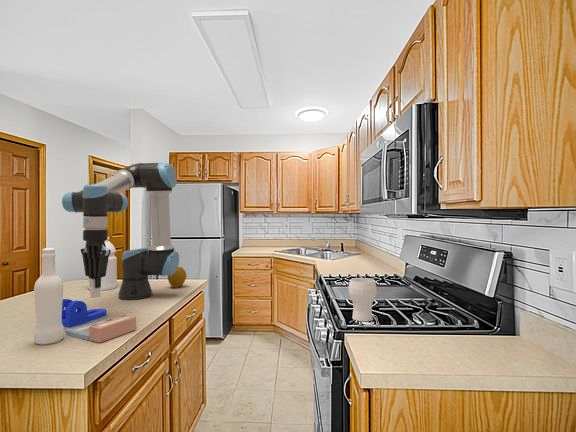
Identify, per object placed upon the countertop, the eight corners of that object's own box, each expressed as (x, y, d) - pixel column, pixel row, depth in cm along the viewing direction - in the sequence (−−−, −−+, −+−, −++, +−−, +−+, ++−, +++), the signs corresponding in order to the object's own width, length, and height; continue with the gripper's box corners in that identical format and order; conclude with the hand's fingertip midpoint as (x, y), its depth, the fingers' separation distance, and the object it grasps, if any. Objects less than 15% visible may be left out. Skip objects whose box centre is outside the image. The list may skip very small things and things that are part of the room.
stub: (126, 327, 129) (126, 314, 129) (136, 329, 127) (135, 316, 127) (89, 340, 116) (89, 326, 116) (99, 342, 114) (99, 328, 114)
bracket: (69, 328, 129) (69, 303, 129) (53, 325, 132) (53, 301, 132) (111, 314, 146) (111, 292, 146) (96, 312, 149) (96, 291, 149)
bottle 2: (121, 288, 196) (121, 236, 195) (94, 292, 185) (93, 238, 185) (110, 284, 205) (110, 235, 204) (84, 288, 194) (83, 236, 194)
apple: (188, 285, 203) (187, 264, 203) (183, 289, 193) (183, 267, 193) (170, 285, 202) (170, 264, 202) (165, 289, 193) (165, 267, 192)
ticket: (103, 323, 135) (103, 318, 135) (125, 328, 129) (125, 323, 129) (65, 334, 122) (65, 330, 122) (88, 340, 117) (88, 335, 117)
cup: (345, 315, 145) (345, 277, 145) (371, 314, 146) (371, 277, 146) (352, 323, 134) (352, 283, 134) (380, 322, 135) (380, 282, 135)
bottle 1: (41, 347, 111) (40, 250, 111) (29, 342, 115) (28, 248, 115) (69, 339, 118) (68, 247, 117) (56, 334, 122) (55, 246, 122)
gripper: (73, 229, 125) (73, 297, 125) (97, 229, 119) (97, 301, 119) (93, 228, 131) (93, 293, 131) (117, 229, 125) (117, 296, 126)
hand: (95, 297), depth 125 cm, fingers closed
